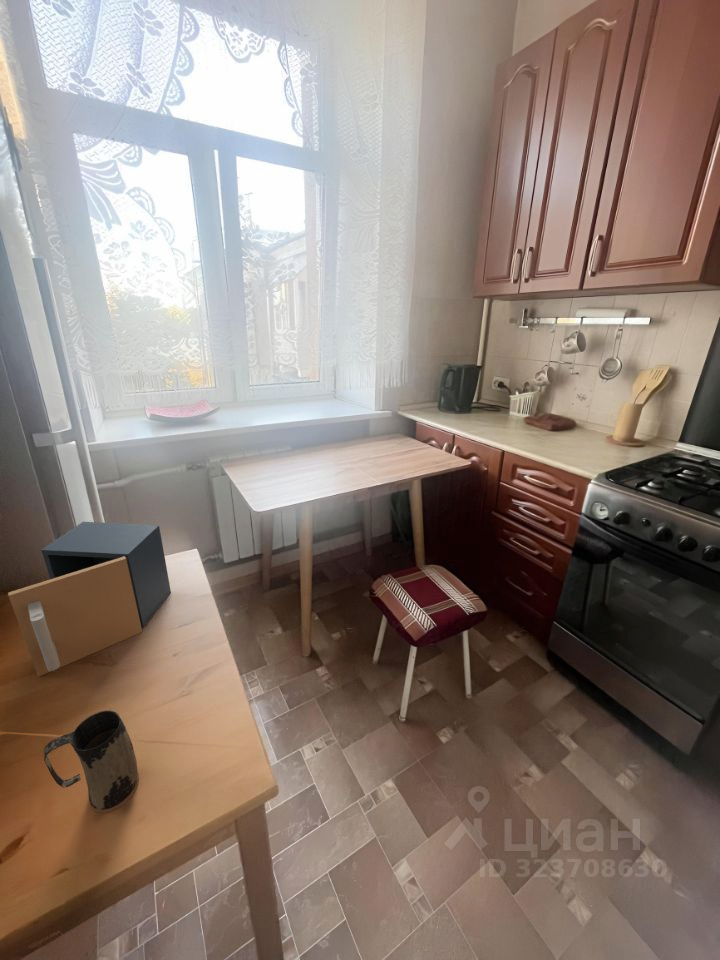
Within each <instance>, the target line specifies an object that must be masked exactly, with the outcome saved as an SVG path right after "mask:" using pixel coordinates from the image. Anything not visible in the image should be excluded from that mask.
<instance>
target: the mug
mask: <svg viewBox="0 0 720 960" xmlns="http://www.w3.org/2000/svg"><path fill="white" fill-rule="evenodd" d="M68 744H70V745H71V746H72V748H73V750H74V753H76V754H77V758H78V759H79V762H80V765H81V767H82V770H83V774H84V778H85V781H86V786H87V791H88V793H87V794H88V801H89V805H90V808H91V809H92V810H93V811H94V812H97V813H99V814H101V813H102V814H105V813H110V812H113V811H115V810H117V809H120V807H122V806H123V805H124V804H126V803H127V802H128V801H130V799H131V798H132V797H133V795H134V794H135V792H136V790H137V788H138V786H139V781H140V775H139V774H140V773H139V771H138V762H137V757H136V754H135V749H134V745H133V743H132V740H131V738H130V734H129V732H128V730H127V727H126V725H125V724H124V721H123V720H122V717H121V716H120V715H119V713H117V712H116V711H113V710H102V711H98V712H96V713H94V714H92V715H90V716H88V717H87V718H85V719H84V720H83V721H81V722H80V723H79V725H77V726H76V728H75V729H74V731H72V732H70V733H66V734H63V735H60V736H58V737H56V738H54V739H52V740H51V741H49V742H48V743H47V744H46V745H45V746H44V749H43V754H44V755H43V756H44V757H43V761H44V764H45V766H46V768H47V769H48V771H49V773H50V775H51V777H52V779H53V780H54V781H55V783H56V785H59V786H60V787H61V788H63V789H64V788H68V787H71V786H73V785H74V784H76V783H77V782H79V781H81V780H82V779H81V773H77V774H75V775H73V777H70V778H69V779H62V777H60V776H59V775H58V774H57V772H56V770H55V769H54V767H53V765H52V763H51V761H50V759H49V757H48V755H49V754H50V753H52V751H54V750H56V749H58V748H60V747H62V746H65V745H68Z"/></svg>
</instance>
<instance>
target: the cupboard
mask: <svg viewBox="0 0 720 960" xmlns="http://www.w3.org/2000/svg"><path fill="white" fill-rule="evenodd" d="M163 545H164V544H163V540H162V534H161V528H160V525H159V524H141V523H140V524H139V523H123V522H122V523H120V522H101V521H100V522H99V521H98V522H97V521H82V522H80V523H79V524H77V525H76V526H74V527H73V528H72V529H70V530H68V531H67V532H65V533H64V534H62V535H61V536H59V537H58V538H56V539H55V540H53V541H52V542H50V543H49V544H48V545H46V546H45V547H43V548H41V555H42V557H43V560H44V563H45V566H46V570H47V573H48V577H49V580H50V579H53V578H57V577H60V576H63V575H66V574H69V573H73V572H76V571H79V570H82V569H85V568H89V567H92V566H95V565H98V564H102V563H105V562H108V561H111V560H114V559H118V558H121V557H124V556H125V558H126V560H127V565H128V569H129V574H130V578H131V583H132V587H133V592H134V596H135V601H136V605H137V610H138V614H139V619H140V624H141V628H142V629H144V628H145V627H146V626H147V625H148V623H150V621H151V620H152V619H153V617H154V616H155V614H156V613H157V612H158V610H159V609H160V608H161V606H162V605H163V604H164V602H165V601H166V600H167V598H168V597H169V596H170V595H171V593H172V591H171V585H170V584H171V583H170V579H169V574H168V567H167V562H166V556H165V551H164V546H163Z"/></svg>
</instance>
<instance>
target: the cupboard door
mask: <svg viewBox="0 0 720 960" xmlns="http://www.w3.org/2000/svg"><path fill="white" fill-rule="evenodd" d="M7 595H8V598H9V602H10V605H11V606H12V610H13V612H14V615H15V617H16V620H17V623H18V625H19V629H20V631H21V633H22V637H23V639H24V642H25V644H26V648H27V651H28V653H29V655H30V659H31V661H32V664H33V667H34V669H35V672H36V675H37V677H38V678H39V677H42V676H44V675H46V674H48V673H51V672H54V671H56V670H58V669H60V668H62V667H64V666H67V665H69V664H72V663H74V662H77V661H78V660H81V659H83V658H85V657H89V656H90V655H93V654H94V653H97V652H100V651H102V650H104V649H107V648H109V647H111V646H113V645H115V644H118V643H120V642H123V641H125V640H128V639H130V638H132V637H134V636H137V635H139V634H141V633H143V628H141V624H140V619H139V614H138V610H137V605H136V601H135V596H134V592H133V587H132V583H131V578H130V574H129V569H128V565H127V560H126V558H125V556H124V557H121V558H118V559H114V560H111V561H108V562H105V563H102V564H98V565H95V566H92V567H89V568H85V569H82V570H79V571H76V572H73V573H69V574H66V575H63V576H60V577H57V578H53V579H50V578H49V579H47V580H43V581H41V582H37V583H35V584H31V585H28V586H25V587H22V588H18V589H15V590H12V591H9V592H7Z"/></svg>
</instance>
